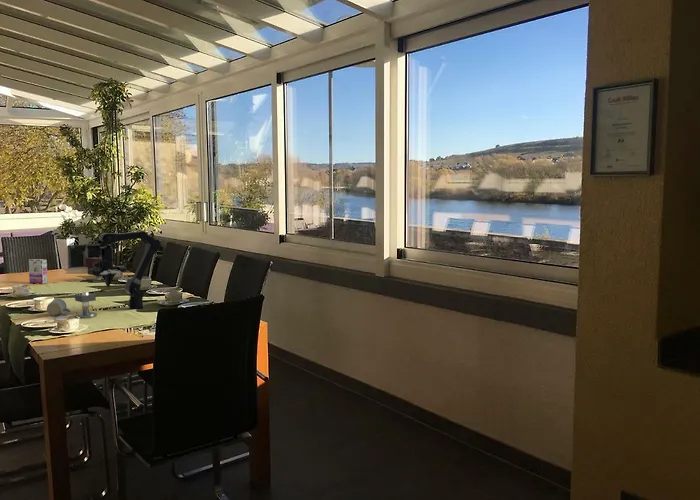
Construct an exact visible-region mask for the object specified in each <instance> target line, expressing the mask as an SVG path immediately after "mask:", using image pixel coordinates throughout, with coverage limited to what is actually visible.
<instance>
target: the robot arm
mask: <svg viewBox="0 0 700 500" xmlns="http://www.w3.org/2000/svg"><path fill="white" fill-rule="evenodd" d="M98 237H99V238H98V240H97V241H96V243H95V244H87V245H85V248H84V249H85V250H84V257H85V259H88V258H98V257H99V256H101V259H100V262H98V263H97V261H96V262H92V267H93V268H94V269H89V270H88V269H87V275H88V276H89V275H90V276H94V275H101V278H102V279H104V281H105V282H104V283H105V286H106V287H107V288H110V286H111V283H112V281H113V280H114V277H115V276H116V275H117V274H118V273H117V272H120V273H126V272H127V267H126V266H123V265H116V266H114V262H115V259H114V252H113V251H114V249H117V246H116V245H115V243H118V242H121V241H129V240H130V241H131V240H139V239H140V240H141V242H143V243H144V244H145V246H144V253H143V255H142V257H141V260H140V262H139V264H138V266H137V268H136V270H135V272H134V274H133V276H132V277H131V278H127V279H126V282H125V284H124V291H125V292H126V293H127V294H128V296H129V299H128V307H129V309H130V310H134V309H135V310H137V309H144V306H143V305H144V304H143V302H144V301H143V300H144V299H143V298H144V296H145V293H144V292H143V291H142V290H141V287H142V280H143V277H144V275H145V272H146V271H147V269H148V267H149V265H150V263H151V261H152V259H153V257H154V256H155V255H156V254H157V252H158V251H159V249H160V248H161V246H162V244H161V242H160V241H159V240H158V239H155V238H154V237H152V236H150V234H148V233H146V231H143V230H139V231H132V232H129V231H128V232H121V233H115V232H114V233H111V232H110V233H109V232H103V233H101V234H100V235H99V236H98Z"/></svg>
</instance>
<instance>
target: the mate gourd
mask: <svg viewBox="0 0 700 500" xmlns="http://www.w3.org/2000/svg"><path fill="white" fill-rule="evenodd" d="M100 259H101V255H100V256H99V257H98V258H87V260H86V261H87V262H86V264H87V265H86V267H87V271H88V270H89V269H94V268H93V267H92V262H96V261H97V263H98V262H100ZM93 276H95V277H96V278H95V279H96V280H101V279H102V276H101V275H93Z"/></svg>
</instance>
